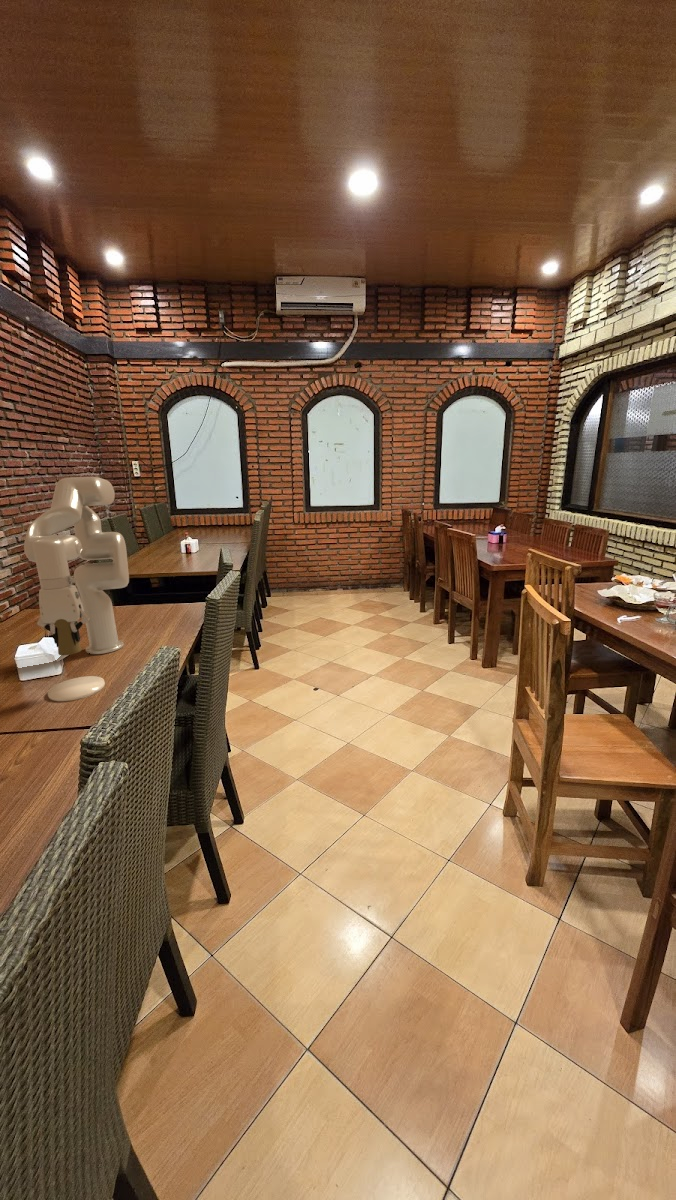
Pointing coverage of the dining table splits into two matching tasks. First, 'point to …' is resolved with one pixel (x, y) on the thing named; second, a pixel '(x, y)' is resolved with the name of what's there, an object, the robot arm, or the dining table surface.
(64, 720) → the dining table surface
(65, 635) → the cork
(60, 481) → the robot arm
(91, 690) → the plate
